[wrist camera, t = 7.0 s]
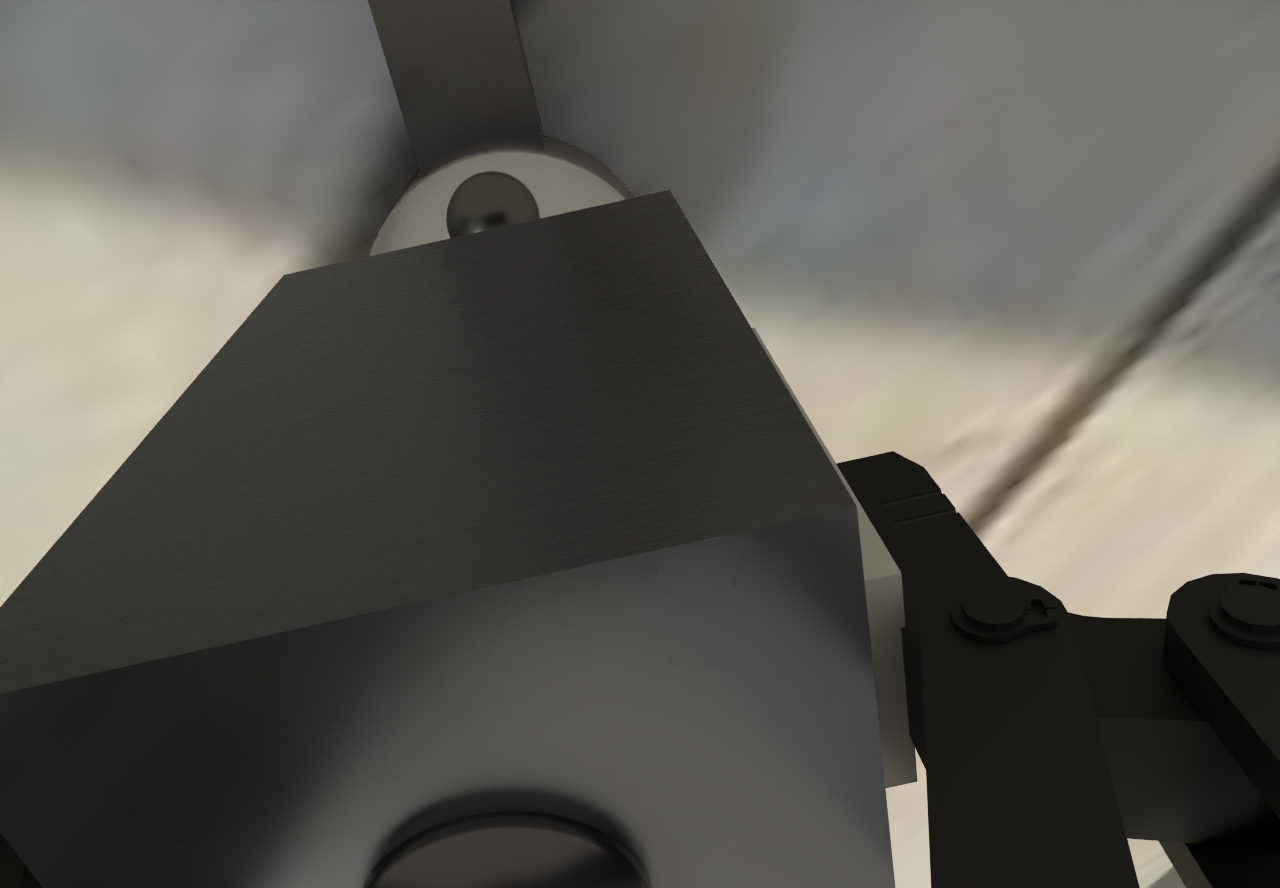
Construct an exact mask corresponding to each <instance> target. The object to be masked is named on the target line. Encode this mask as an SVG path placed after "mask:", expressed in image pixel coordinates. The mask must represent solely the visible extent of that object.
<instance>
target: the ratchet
mask: <svg viewBox="0 0 1280 888" xmlns="http://www.w3.org/2000/svg"><path fill="white" fill-rule="evenodd" d="M368 2H369V5H370V9H371V12H372V15H373V18H374V22H375V25H376V28H377V32H378V35H379V38H380V42H381V45H382V48H383V52H384V55H385V58H386V62H387V65H388V68H389V71H390V75H391V78H392V81H393V85H394V88H395V91H396V95H397V98H398V101H399V105H400V108H401V111H402V114H403V118H404V121H405V124H406V128H407V131H408V134H409V138H410V141H411V144H412V148H413V151H414V154H415V158H416V161H417V164H418V167H419V171H420V172H419V173H418V174H417V175H416V176H415V177H414V178H413V180H412V181H411V182H410V183H409V184H408V185H407V187H406V189H405V190H404V192H403V193H402V195H401V196H400V198H399V199H398V201H397V203H396V204H395V206H394V208H393V209H392V211H391V213H390V214H389V216H388V218H387V219H386V221H385V223H384V224H383V226H382V228H381V229H380V231H379V233H378V236H377V238H376V240H375V242H374V244H373V247H372V249H371V252H370V256H373V255H377V254H382V253H386V252H391V251H395V250H400V249H404V248H409V247H413V246H418V245H422V244H427V243H431V242H436V241H441V240H445V239H450V238H454V237H459V236H463V235H468V234H472V233H477V232H481V231H486V230H490V229H495V228H499V227H504V226H508V225H513V224H517V223H522V222H527V221H531V220H536V219H540V218H545V217H549V216H554V215H558V214H563V213H567V212H572V211H576V210H581V209H585V208H590V207H594V206H599V205H604V204H608V203H613V202H617V201H622V200H626V199H631V198H633V196H632V195H631V193H630V192H629V191H628V189H627V188H626V187H625V185H624V184H623V183H622V182H621V180H620V179H619V178H618V177H617V176H616V175H615V174H614V173H613V172H612V171H611V170H610V169H608V168H607V167H606V166H605V165H603V164H602V163H601V162H599V161H598V160H597V159H596V158H594V157H593V156H591V155H589V154H588V153H586V152H584V151H582V150H581V149H579V148H577V147H575V146H572V145H570V144H567V143H565V142H562V141H560V140H556V139H553V138H549V137H545V136H544V135H543V131H542V127H541V122H540V118H539V114H538V110H537V105H536V101H535V97H534V93H533V88H532V84H531V80H530V76H529V71H528V67H527V63H526V59H525V54H524V50H523V46H522V42H521V37H520V33H519V29H518V25H517V21H516V16H515V12H514V8H513V4H512V0H368Z"/></svg>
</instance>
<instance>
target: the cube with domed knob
mask: <svg viewBox="0 0 1280 888" xmlns="http://www.w3.org/2000/svg"><path fill="white" fill-rule="evenodd" d="M0 833H1V834H2V835H3V837H4V838H5V839H6V841H7V842H8V843H9V844H10V846H11V847H12V848H13V850H14V851H15V852H16V854H17V855H18V856H19V858H20V859H21V860H22V861H23V863H24V864H25V865H26V867H27V868H28V869H29V871H30V872H31V873H32V875H33V876H34V877H35V879H36V880H37V881H38V882H39V884H40V885H41V886H42V888H895V880H894V871H893V861H892V851H891V841H890V831H889V821H888V811H887V801H886V791H885V781H884V771H883V761H882V751H881V741H880V731H879V721H878V711H877V701H876V691H875V682H874V672H873V662H872V652H871V642H870V632H869V622H868V612H867V602H866V592H865V582H864V572H863V562H862V552H861V542H860V532H859V522H858V512H857V506H856V504H855V502H854V501H853V499H852V497H851V495H850V494H849V492H848V490H847V489H846V487H845V485H844V484H843V482H842V480H841V479H840V477H839V475H838V474H837V472H836V470H835V468H834V467H833V465H832V463H831V462H830V460H829V458H828V457H827V455H826V453H825V452H824V450H823V448H822V446H821V445H820V443H819V441H818V440H817V438H816V436H815V435H814V433H813V431H812V430H811V428H810V426H809V425H808V423H807V421H806V419H805V418H804V416H803V414H802V413H801V411H800V409H799V408H798V406H797V404H796V403H795V401H794V399H793V398H792V396H791V394H790V392H789V391H788V389H787V387H786V386H785V384H784V382H783V381H782V379H781V377H780V376H779V374H778V372H777V370H776V369H775V367H774V365H773V364H772V362H771V360H770V359H769V357H768V355H767V354H766V352H765V350H764V349H763V347H762V345H761V343H760V342H759V340H758V338H757V337H756V335H755V333H754V332H753V330H752V328H751V327H750V325H749V323H748V322H747V320H746V318H745V316H744V315H743V313H742V311H741V310H740V308H739V306H738V305H737V303H736V301H735V300H734V298H733V296H732V294H731V293H730V291H729V289H728V288H727V286H726V284H725V283H724V281H723V279H722V278H721V276H720V274H719V273H718V271H717V269H716V267H715V266H714V264H713V262H712V261H711V259H710V257H709V256H708V254H707V252H706V251H705V249H704V247H703V246H702V244H701V242H700V240H699V239H698V237H697V235H696V234H695V232H694V230H693V229H692V227H691V225H690V224H689V222H688V220H687V218H686V217H685V215H684V213H683V212H682V210H681V208H680V207H679V205H678V203H677V202H676V200H675V198H674V197H673V195H672V193H671V191H670V190H667V191H662V192H658V193H653V194H649V195H644V196H640V197H635V198H631V199H626V200H622V201H617V202H613V203H608V204H604V205H599V206H594V207H590V208H585V209H581V210H576V211H572V212H567V213H563V214H558V215H554V216H549V217H545V218H540V219H536V220H531V221H527V222H522V223H517V224H513V225H508V226H504V227H499V228H495V229H490V230H486V231H481V232H477V233H472V234H468V235H463V236H459V237H454V238H450V239H445V240H441V241H436V242H431V243H427V244H422V245H418V246H413V247H409V248H404V249H400V250H395V251H391V252H386V253H382V254H377V255H373V256H368V257H364V258H359V259H355V260H350V261H345V262H341V263H336V264H332V265H327V266H323V267H318V268H314V269H309V270H305V271H300V272H296V273H291V274H287V275H284V276H283V277H282V278H281V279H280V280H279V282H278V283H277V284H276V285H275V286H274V287H273V289H272V290H271V291H270V292H269V293H268V294H267V296H266V297H265V298H264V299H263V300H262V301H261V303H260V304H259V305H258V306H257V307H256V308H255V310H254V311H253V312H252V313H251V314H250V316H249V317H248V318H247V319H246V320H245V321H244V323H243V324H242V325H241V326H240V327H239V328H238V330H237V331H236V332H235V333H234V334H233V335H232V337H231V338H230V339H229V340H228V341H227V342H226V344H225V345H224V346H223V347H222V348H221V349H220V351H219V352H218V353H217V354H216V355H215V357H214V358H213V359H212V360H211V361H210V362H209V364H208V365H207V366H206V367H205V368H204V369H203V371H202V372H201V373H200V374H199V375H198V376H197V378H196V379H195V380H194V381H193V382H192V383H191V385H190V386H189V387H188V388H187V389H186V390H185V392H184V393H183V394H182V395H181V396H180V397H179V399H178V400H177V401H176V402H175V403H174V405H173V406H172V407H171V408H170V409H169V410H168V412H167V413H166V414H165V415H164V416H163V417H162V419H161V420H160V421H159V422H158V423H157V424H156V426H155V427H154V428H153V429H152V430H151V431H150V433H149V434H148V435H147V436H146V437H145V438H144V440H143V441H142V442H141V443H140V444H139V446H138V447H137V448H136V449H135V450H134V451H133V453H132V454H131V455H130V456H129V457H128V458H127V460H126V461H125V462H124V463H123V464H122V465H121V467H120V468H119V469H118V470H117V471H116V472H115V474H114V475H113V476H112V477H111V478H110V479H109V481H108V482H107V483H106V484H105V485H104V487H103V488H102V489H101V490H100V491H99V492H98V494H97V495H96V496H95V497H94V498H93V499H92V501H91V502H90V503H89V504H88V505H87V506H86V508H85V509H84V510H83V511H82V512H81V513H80V515H79V516H78V517H77V518H76V519H75V520H74V522H73V523H72V524H71V525H70V526H69V528H68V529H67V530H66V531H65V532H64V533H63V535H62V536H61V537H60V538H59V539H58V540H57V542H56V543H55V544H54V545H53V546H52V547H51V549H50V550H49V551H48V552H47V553H46V554H45V556H44V557H43V558H42V559H41V560H40V561H39V563H38V564H37V565H36V566H35V567H34V568H33V570H32V571H31V572H30V573H29V574H28V576H27V577H26V578H25V579H24V580H23V581H22V583H21V584H20V585H19V586H18V587H17V588H16V590H15V591H14V592H13V593H12V594H11V595H10V597H9V598H8V599H7V600H6V601H5V602H4V604H3V605H2V606H1V607H0Z"/></svg>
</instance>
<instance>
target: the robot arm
mask: <svg viewBox="0 0 1280 888" xmlns="http://www.w3.org/2000/svg"><path fill="white" fill-rule="evenodd" d="M752 330H753V332H754V333H755V335H756V337H757V338H758V340H759V342H760V343H761V345H762V347H763V349H764V350H765V352H766V354H767V355H768V357H769V359H770V360H771V362H772V364H773V365H774V367H775V369H776V370H777V372H778V374H779V376H780V377H781V379H782V381H783V382H784V384H785V386H786V387H787V389H788V391H789V392H790V394H791V396H792V398H793V399H794V401H795V403H796V404H797V406H798V408H799V409H800V411H801V413H802V414H803V416H804V418H805V419H806V421H807V423H808V425H809V426H810V428H811V430H812V431H813V433H814V435H815V436H816V438H817V440H818V441H819V443H820V445H821V446H822V448H823V450H824V452H825V453H826V455H827V457H828V458H829V460H830V462H831V463H832V465H833V467H834V468H835V470H836V472H837V474H838V475H839V477H840V479H841V480H842V482H843V484H844V485H845V487H846V489H847V490H848V492H849V494H850V495H851V497H852V499H853V501H854V502H855V504H856V506H857V512H858V522H859V532H860V542H861V552H862V562H863V572H864V582H865V592H866V602H867V612H868V622H869V632H870V642H871V652H872V662H873V672H874V682H875V691H876V701H877V711H878V721H879V731H880V741H881V751H882V761H883V771H884V781H885V788H889V787H893V786H898V785H903V784H907V783H912V782H917V771H916V758H915V748H916V750H917V752H918V754H919V756H920V758H921V761H922V763H923V765H924V767H925V769H926V776H927V799H928V822H929V845H930V867H931V888H1139V884H1138V880H1137V876H1136V872H1135V868H1134V864H1133V860H1132V856H1131V852H1130V848H1129V845H1128V841H1127V838H1131V839H1144V840H1157V841H1159V842H1160V844H1161V846H1162V847H1163V849H1164V851H1165V853H1166V854H1167V856H1168V858H1169V859H1170V861H1171V863H1172V864H1173V866H1174V868H1175V869H1176V871H1177V873H1178V874H1179V876H1180V878H1181V879H1182V881H1183V883H1184V884H1185V886H1186V888H1280V579H1277V578H1271V577H1265V576H1259V575H1253V574H1247V573H1231V574H1211V575H1208V576H1205V577H1202V578H1198V579H1195V580H1192V581H1188V582H1186V583H1185V584H1184V585H1183V586H1182V587H1180V588H1179V589H1178V590H1177V591H1176V592H1174V593H1173V594H1172V595H1171V598H1170V602H1169V606H1168V610H1167V618H1166V619H1153V618H1101V617H1089V616H1081V615H1077V614H1072V613H1068V612H1067V610H1066V609H1065V607H1064V605H1063V604H1062V602H1061V601H1060V600H1059V599H1058V598H1056V597H1055V596H1054V595H1052V594H1051V593H1049V592H1048V591H1047V590H1045V589H1044V588H1042V587H1041V586H1038V585H1035V584H1032V583H1029V582H1026V581H1024V580H1021V579H1018V578H1014V577H1008V576H1007V574H1006V573H1005V572H1004V571H1003V569H1002V568H1001V567H1000V565H999V564H998V563H997V561H996V560H995V559H994V558H993V556H992V555H991V554H990V552H989V551H988V550H987V549H986V547H985V546H984V545H983V543H982V542H981V541H980V539H979V538H978V537H977V536H976V534H975V533H974V532H973V530H972V529H971V528H970V527H969V525H968V524H967V523H966V521H965V520H964V519H963V517H962V516H961V515H960V514H959V512H958V513H956V511H955V507H954V506H953V505H952V503H951V502H950V501H949V499H948V498H947V497H946V495H945V494H942V493H941V489H940V488H939V486H938V485H937V484H936V483H935V481H934V480H933V479H932V477H931V476H930V475H929V473H928V472H927V471H926V470H925V468H924V467H922V466H920V465H919V464H917V463H915V462H913V461H911V460H909V459H907V458H905V457H903V456H901V455H899V454H897V453H895V452H893V451H892V452H887V453H883V454H878V455H874V456H869V457H865V458H860V459H855V460H851V461H846V462H842V463H837V464H836V463H835V461H834V460H833V458H832V456H831V455H830V453H829V451H828V450H827V448H826V446H825V445H824V443H823V441H822V440H821V438H820V436H819V435H818V433H817V431H816V430H815V428H814V426H813V425H812V423H811V421H810V420H809V418H808V416H807V415H806V413H805V411H804V410H803V408H802V406H801V405H800V403H799V401H798V400H797V398H796V396H795V395H794V393H793V391H792V390H791V388H790V386H789V385H788V383H787V381H786V380H785V378H784V376H783V375H782V373H781V371H780V370H779V368H778V366H777V365H776V363H775V361H774V360H773V358H772V356H771V355H770V353H769V351H768V350H767V348H766V346H765V345H764V343H763V341H762V340H761V338H760V336H759V335H758V333H757V331H756V330H755V328H752ZM0 888H42V886H41V885H40V884H39V882H38V881H37V880H36V879H35V877H34V876H33V875H32V873H31V872H30V871H29V869H28V868H27V867H26V865H25V864H24V863H23V861H22V860H21V859H20V858H19V856H18V855H17V854H16V852H15V851H14V850H13V848H12V847H11V846H10V844H9V843H8V842H7V841H6V839H5V838H4V837H3V835H2V834H1V833H0Z"/></svg>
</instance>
